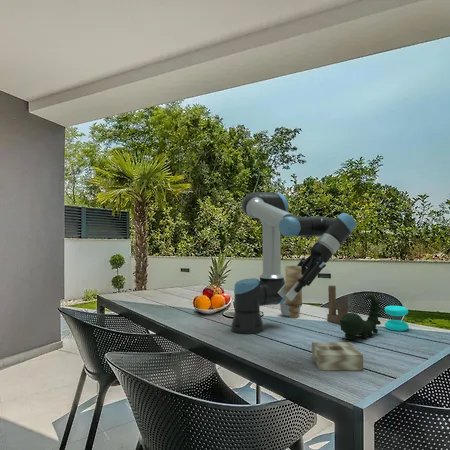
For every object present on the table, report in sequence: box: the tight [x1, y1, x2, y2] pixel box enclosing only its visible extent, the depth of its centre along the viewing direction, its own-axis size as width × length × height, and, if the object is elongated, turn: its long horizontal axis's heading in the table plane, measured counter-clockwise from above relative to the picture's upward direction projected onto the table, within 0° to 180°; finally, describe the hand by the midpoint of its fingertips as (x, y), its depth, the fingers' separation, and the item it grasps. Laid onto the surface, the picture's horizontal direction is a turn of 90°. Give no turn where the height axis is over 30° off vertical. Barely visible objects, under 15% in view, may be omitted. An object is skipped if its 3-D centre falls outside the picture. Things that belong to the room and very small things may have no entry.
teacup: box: [279, 300, 303, 318], centre depth 205 cm, size 14×11×8 cm
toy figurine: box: [339, 293, 382, 341], centre depth 161 cm, size 9×19×25 cm
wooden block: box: [326, 284, 349, 325], centre depth 187 cm, size 4×11×18 cm, turn 29°
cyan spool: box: [384, 305, 409, 332], centre depth 174 cm, size 10×10×10 cm
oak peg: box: [284, 265, 303, 319], centre depth 133 cm, size 6×6×18 cm
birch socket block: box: [311, 341, 364, 371], centre depth 130 cm, size 14×14×5 cm
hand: (284, 296), depth 131 cm, fingers closed on oak peg, 5 cm apart
